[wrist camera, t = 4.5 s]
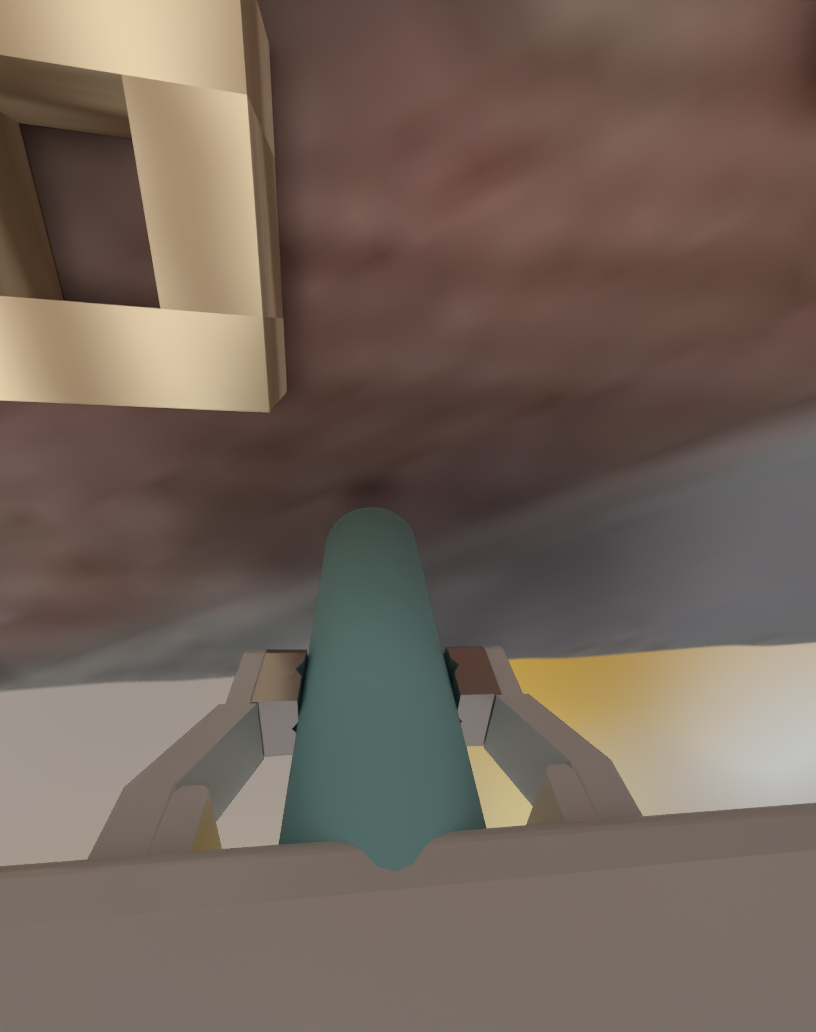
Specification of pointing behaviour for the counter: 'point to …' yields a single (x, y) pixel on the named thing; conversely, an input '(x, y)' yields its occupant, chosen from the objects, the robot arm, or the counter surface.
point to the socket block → (147, 204)
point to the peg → (377, 705)
